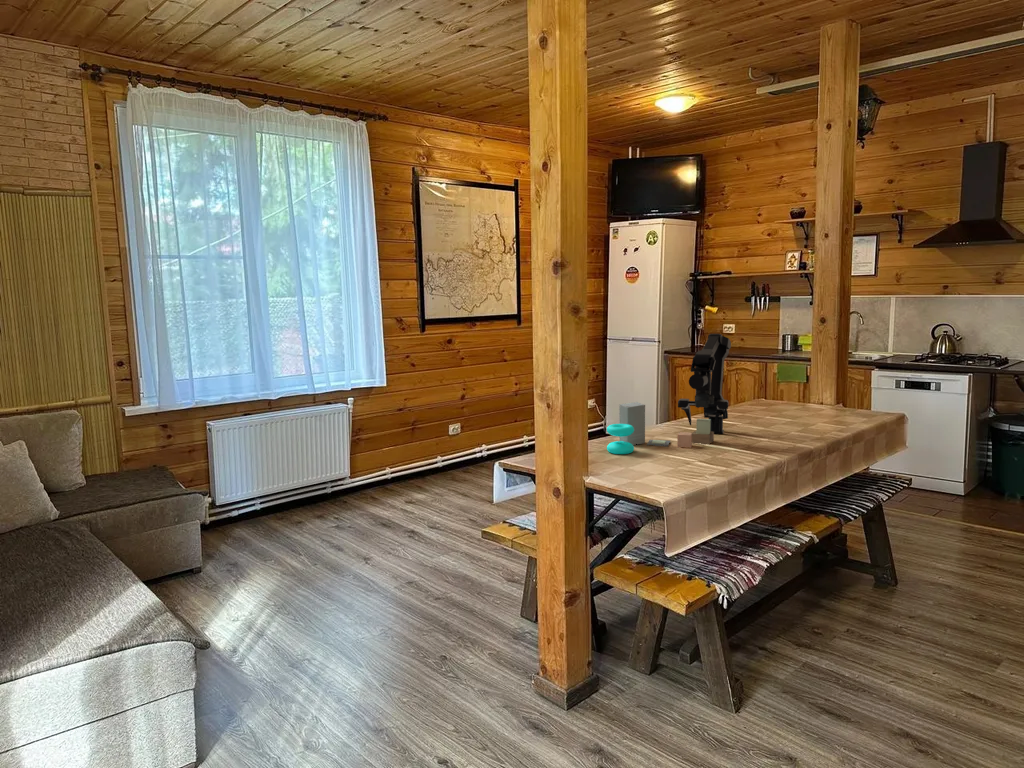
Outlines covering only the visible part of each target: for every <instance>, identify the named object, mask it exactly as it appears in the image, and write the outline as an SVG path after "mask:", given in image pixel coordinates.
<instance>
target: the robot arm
mask: <svg viewBox="0 0 1024 768" xmlns="http://www.w3.org/2000/svg"><path fill="white" fill-rule="evenodd" d="M731 348H732V342H731V340H730V338H729V337H727V336H724V335H722V334H720V333H708V336H707V340H706V342H705V344H704V346H703V348H702V349H700V350H698V351H697V352H696V353H695V355H694V356H693V358H692V362H691V366H690V373H691V372H692V373H693V374H692V375H691V376H689V378H688V385H689V386H690V388H691V389H693V390H695V395H694V400H690V398H680V399H678V401H677V408H680V409H681V410H682V411H684V412H685V415H686V417H687V421H688V423H689V426H692V415H691V414H692V412H691V407H693V406H694V407H695V408H697V409H698V408H703V417H704V418H703V419H711V421H710V432H714V434H716V435H718V434H719V435H720V434H721V435H724V432H725V430H724V428H723V427H724V426H723V425H724V420H726V419H729V414H728V413H729V412H728V409H729V400H728V399H724V397H723V394H722V393H723V380H724V379H723V378H724V366H725V359H726V358H727V357H728V356H729V354H730V349H731Z"/></svg>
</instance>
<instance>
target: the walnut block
mask: <svg viewBox="0 0 1024 768" xmlns="http://www.w3.org/2000/svg"><path fill="white" fill-rule="evenodd" d="M691 433H692V444H695V443H701V444H700V445H706V444H709V445H710V443H711V442H712V443H713V442H714V441H715V433H714V432H710V434H696V430H695V431H693V432H691ZM712 443H711V444H712Z"/></svg>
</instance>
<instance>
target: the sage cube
mask: <svg viewBox="0 0 1024 768" xmlns="http://www.w3.org/2000/svg"><path fill="white" fill-rule="evenodd" d="M710 421H711V419H709V418H697V419H696V424H695V425H696V426H695V429H696V430H695V431H696V434H710Z"/></svg>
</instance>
